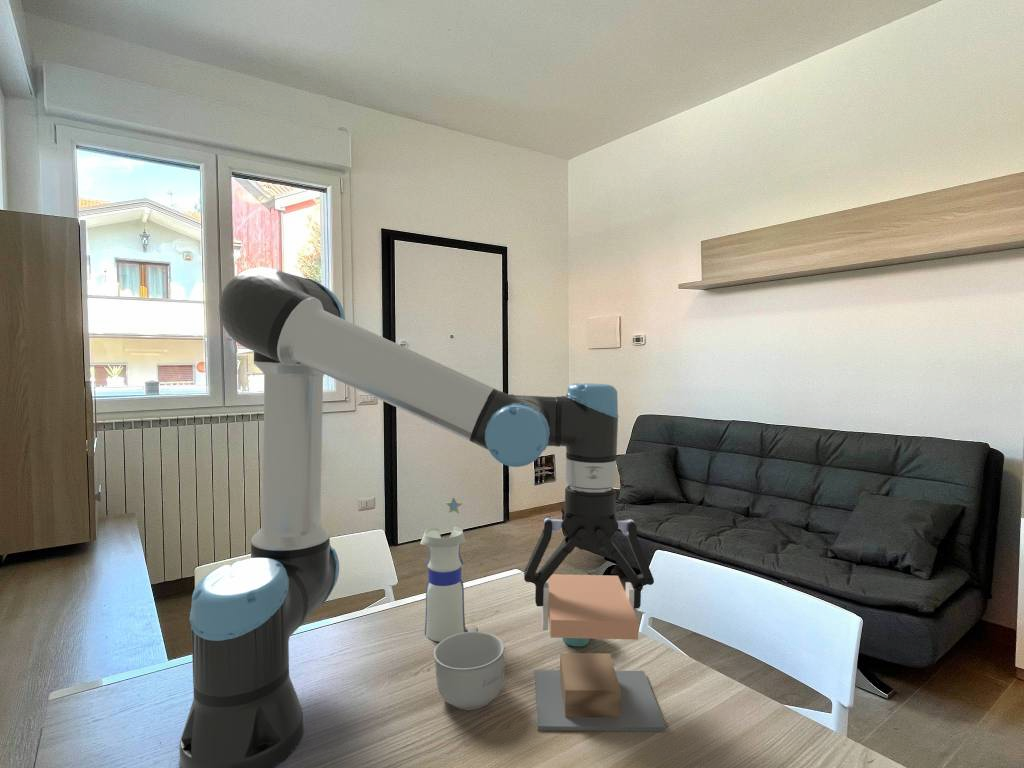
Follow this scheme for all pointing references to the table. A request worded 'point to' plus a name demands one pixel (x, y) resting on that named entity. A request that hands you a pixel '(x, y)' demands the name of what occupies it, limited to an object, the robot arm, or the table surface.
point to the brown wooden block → (589, 685)
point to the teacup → (469, 668)
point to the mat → (635, 716)
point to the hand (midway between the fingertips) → (586, 627)
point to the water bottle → (444, 582)
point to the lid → (590, 608)
